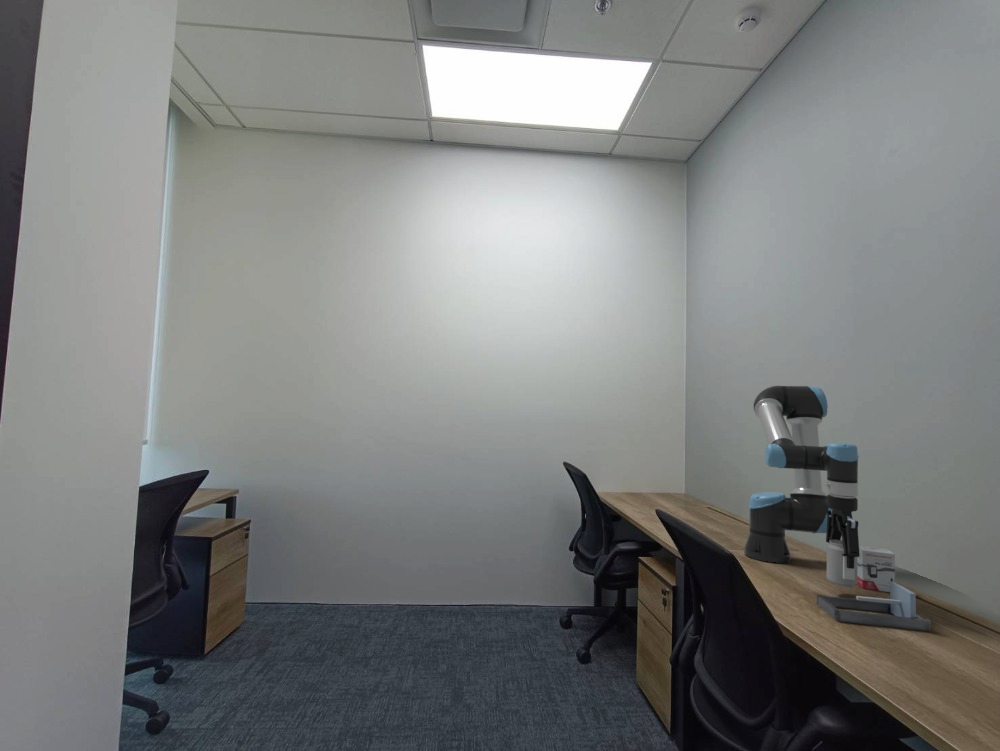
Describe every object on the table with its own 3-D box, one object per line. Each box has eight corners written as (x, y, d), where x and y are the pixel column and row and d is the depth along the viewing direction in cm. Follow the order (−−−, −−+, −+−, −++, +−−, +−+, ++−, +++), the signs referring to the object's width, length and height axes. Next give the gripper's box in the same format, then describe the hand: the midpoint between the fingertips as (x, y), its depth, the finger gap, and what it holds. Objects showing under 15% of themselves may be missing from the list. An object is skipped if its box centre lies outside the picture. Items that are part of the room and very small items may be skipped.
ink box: (861, 588, 152) (861, 549, 153) (856, 583, 157) (856, 545, 158) (896, 593, 149) (895, 553, 150) (889, 588, 154) (889, 549, 155)
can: (862, 589, 142) (862, 546, 142) (833, 586, 143) (833, 544, 144) (849, 580, 149) (850, 539, 149) (822, 577, 150) (822, 537, 151)
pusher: (848, 607, 135) (848, 577, 136) (895, 612, 133) (895, 582, 134) (866, 621, 127) (865, 589, 127) (916, 626, 125) (915, 594, 125)
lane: (816, 604, 138) (816, 594, 138) (902, 613, 134) (902, 603, 134) (836, 621, 127) (836, 611, 127) (930, 631, 123) (930, 621, 123)
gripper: (813, 488, 158) (813, 561, 157) (844, 501, 138) (844, 585, 137) (839, 490, 156) (839, 563, 155) (875, 503, 136) (875, 588, 135)
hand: (841, 573), depth 146 cm, fingers closed on can, 7 cm apart
